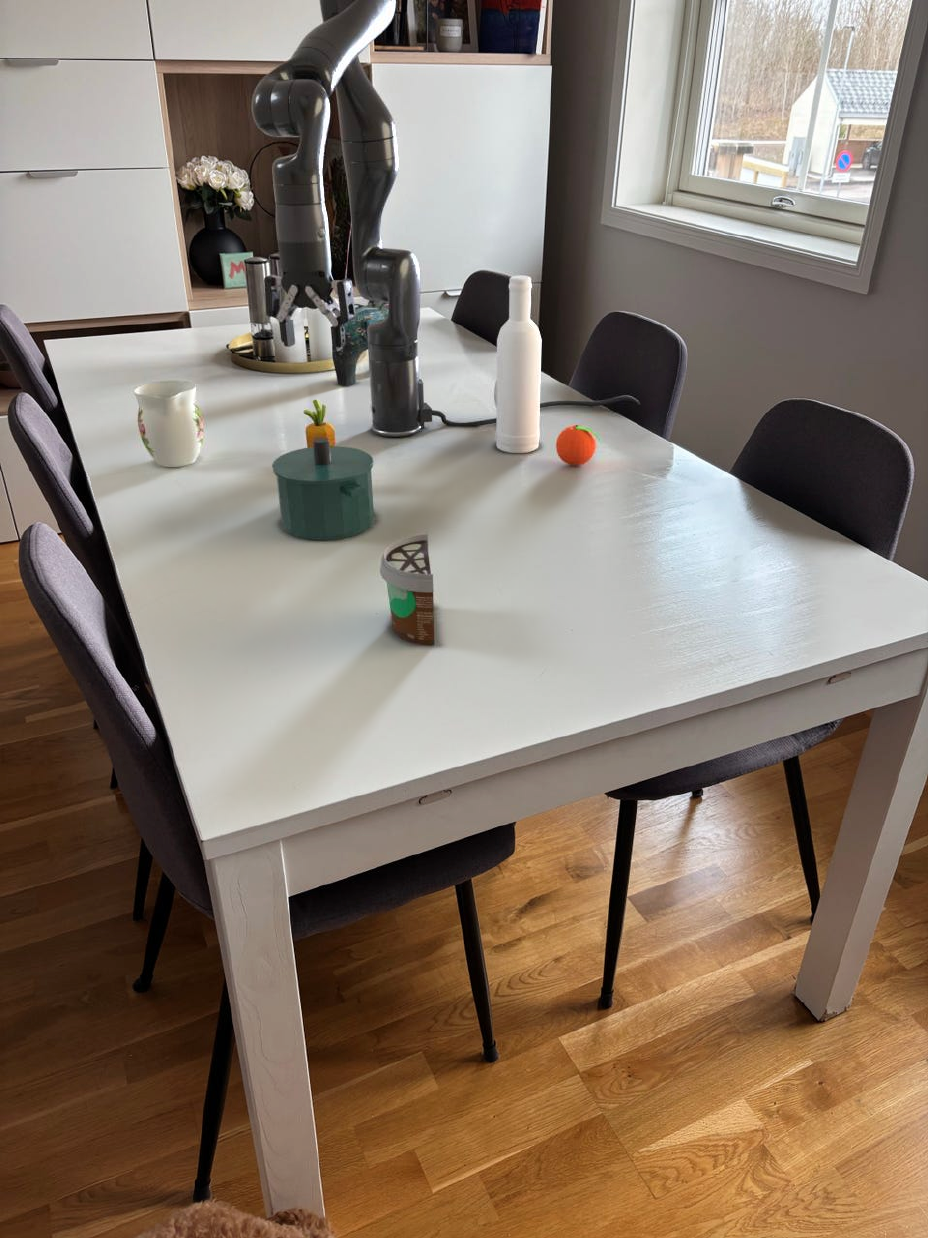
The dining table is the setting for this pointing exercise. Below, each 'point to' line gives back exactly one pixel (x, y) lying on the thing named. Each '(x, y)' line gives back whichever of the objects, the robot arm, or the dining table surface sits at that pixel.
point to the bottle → (518, 373)
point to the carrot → (319, 426)
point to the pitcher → (170, 422)
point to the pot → (326, 508)
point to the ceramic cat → (356, 340)
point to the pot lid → (322, 464)
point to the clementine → (576, 445)
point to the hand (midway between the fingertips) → (313, 347)
